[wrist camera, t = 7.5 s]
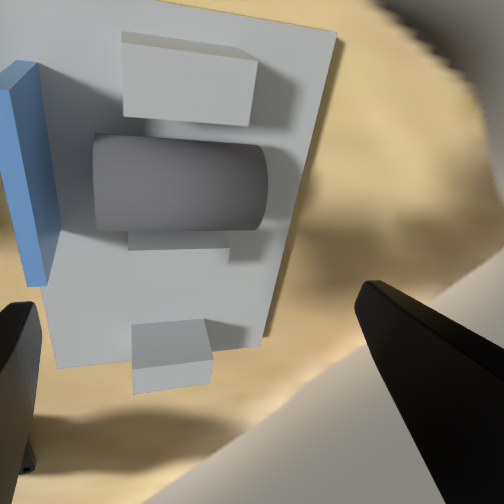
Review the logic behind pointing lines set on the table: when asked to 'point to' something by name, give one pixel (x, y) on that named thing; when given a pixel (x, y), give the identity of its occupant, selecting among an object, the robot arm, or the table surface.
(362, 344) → the table surface
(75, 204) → the white base plate
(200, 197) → the dark gray cylinder
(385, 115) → the table surface
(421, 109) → the table surface
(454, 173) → the table surface
